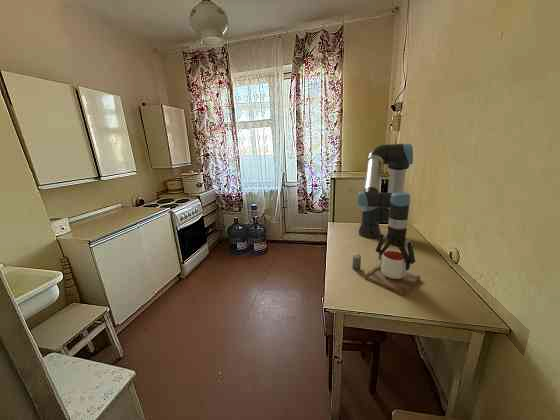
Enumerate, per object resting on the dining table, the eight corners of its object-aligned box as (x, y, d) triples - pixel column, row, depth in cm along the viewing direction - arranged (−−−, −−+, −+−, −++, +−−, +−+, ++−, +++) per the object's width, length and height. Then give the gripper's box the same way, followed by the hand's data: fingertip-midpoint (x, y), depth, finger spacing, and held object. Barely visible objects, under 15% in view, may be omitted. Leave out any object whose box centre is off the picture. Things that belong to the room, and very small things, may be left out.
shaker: (355, 265, 122) (356, 250, 120) (361, 268, 119) (362, 253, 117) (350, 268, 120) (351, 253, 117) (357, 271, 117) (358, 255, 114)
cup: (378, 275, 108) (379, 256, 105) (385, 266, 115) (387, 248, 112) (400, 282, 101) (402, 262, 99) (407, 273, 108) (409, 254, 105)
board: (383, 265, 121) (383, 262, 120) (420, 279, 107) (420, 276, 107) (364, 278, 110) (364, 274, 110) (402, 295, 97) (403, 291, 96)
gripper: (369, 222, 108) (366, 264, 114) (421, 235, 91) (414, 283, 97) (377, 219, 112) (374, 259, 118) (428, 231, 95) (422, 277, 101)
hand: (392, 270), depth 107 cm, fingers closed on cup, 10 cm apart
